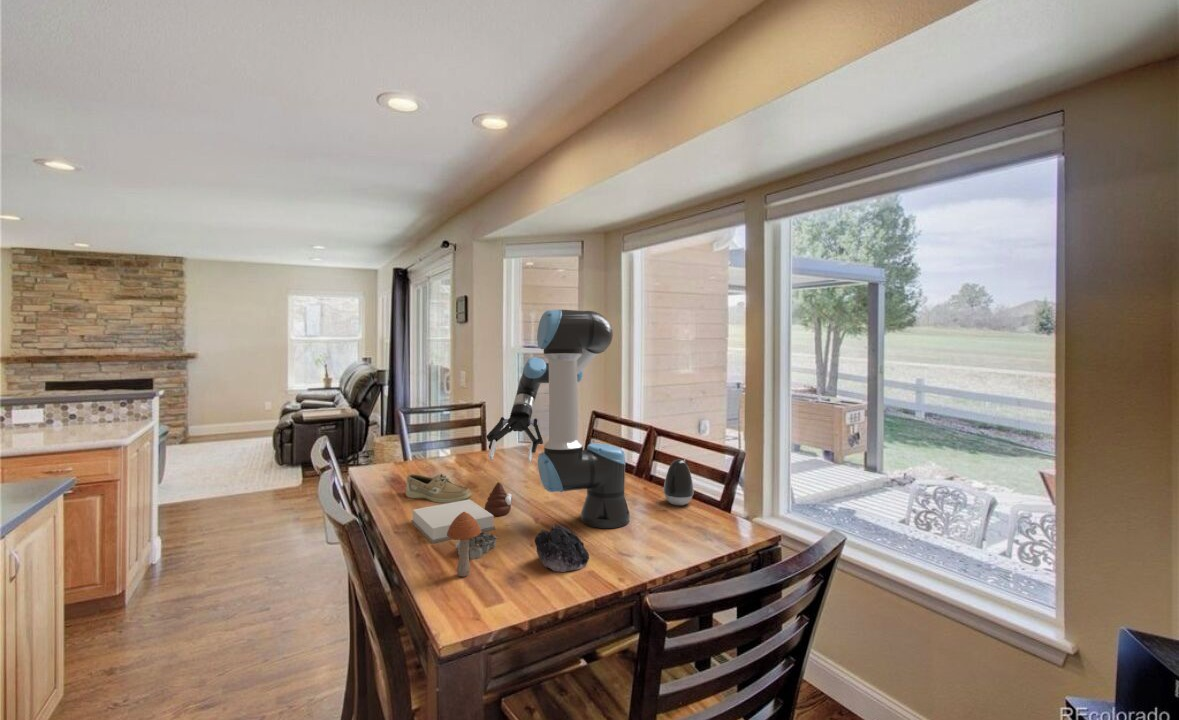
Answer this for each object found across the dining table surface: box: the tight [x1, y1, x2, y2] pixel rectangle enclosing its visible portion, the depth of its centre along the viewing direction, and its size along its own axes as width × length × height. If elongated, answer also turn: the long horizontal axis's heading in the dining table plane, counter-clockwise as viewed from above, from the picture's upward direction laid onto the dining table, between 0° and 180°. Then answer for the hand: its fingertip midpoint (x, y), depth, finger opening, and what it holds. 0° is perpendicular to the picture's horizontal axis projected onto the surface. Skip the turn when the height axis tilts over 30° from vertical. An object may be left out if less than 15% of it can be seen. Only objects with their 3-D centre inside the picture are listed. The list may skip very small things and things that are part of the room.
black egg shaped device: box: [663, 458, 694, 506], centre depth 176 cm, size 10×10×15 cm
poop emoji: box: [484, 482, 513, 517], centre depth 165 cm, size 10×8×9 cm
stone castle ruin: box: [455, 531, 499, 560], centre depth 135 cm, size 11×8×4 cm
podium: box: [411, 498, 496, 544], centre depth 152 cm, size 19×19×4 cm
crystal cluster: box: [534, 525, 590, 573], centre depth 129 cm, size 13×14×10 cm
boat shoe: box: [405, 473, 472, 504], centre depth 178 cm, size 25×9×8 cm, turn 72°
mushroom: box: [447, 512, 481, 578], centre depth 121 cm, size 8×8×15 cm
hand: (509, 458), depth 175 cm, fingers open, 13 cm apart
